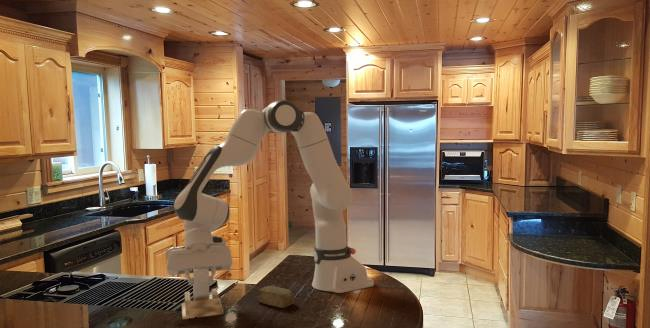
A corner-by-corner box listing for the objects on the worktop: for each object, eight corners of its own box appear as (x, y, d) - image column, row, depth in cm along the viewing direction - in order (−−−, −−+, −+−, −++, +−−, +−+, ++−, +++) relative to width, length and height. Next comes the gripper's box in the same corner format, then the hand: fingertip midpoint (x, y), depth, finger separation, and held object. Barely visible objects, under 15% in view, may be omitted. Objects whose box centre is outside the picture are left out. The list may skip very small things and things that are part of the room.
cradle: (219, 300, 149) (219, 288, 149) (223, 314, 138) (223, 300, 137) (181, 305, 145) (181, 292, 145) (182, 319, 134) (182, 305, 134)
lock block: (208, 295, 145) (207, 265, 144) (209, 301, 140) (208, 269, 139) (193, 297, 143) (192, 266, 143) (194, 302, 138) (193, 270, 138)
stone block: (283, 310, 140) (283, 294, 140) (256, 303, 147) (256, 288, 147) (295, 304, 145) (294, 289, 145) (268, 298, 152) (267, 283, 151)
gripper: (165, 242, 144) (165, 282, 135) (230, 237, 150) (234, 274, 141) (165, 253, 148) (166, 292, 139) (228, 248, 155) (233, 284, 146)
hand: (201, 283), depth 140 cm, fingers closed on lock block, 4 cm apart
